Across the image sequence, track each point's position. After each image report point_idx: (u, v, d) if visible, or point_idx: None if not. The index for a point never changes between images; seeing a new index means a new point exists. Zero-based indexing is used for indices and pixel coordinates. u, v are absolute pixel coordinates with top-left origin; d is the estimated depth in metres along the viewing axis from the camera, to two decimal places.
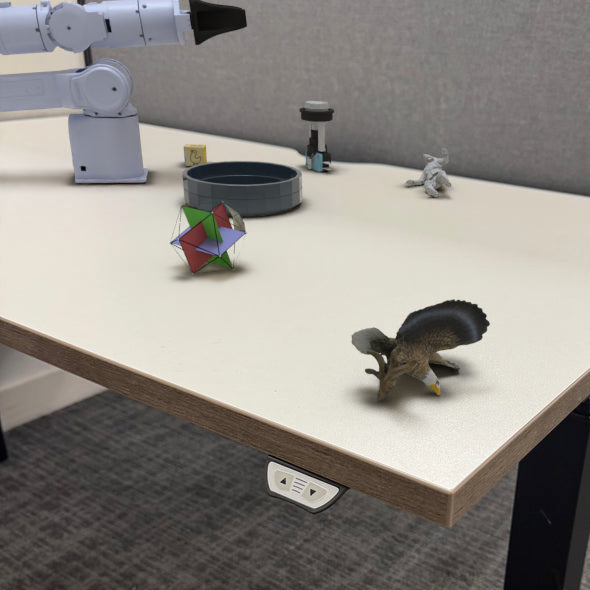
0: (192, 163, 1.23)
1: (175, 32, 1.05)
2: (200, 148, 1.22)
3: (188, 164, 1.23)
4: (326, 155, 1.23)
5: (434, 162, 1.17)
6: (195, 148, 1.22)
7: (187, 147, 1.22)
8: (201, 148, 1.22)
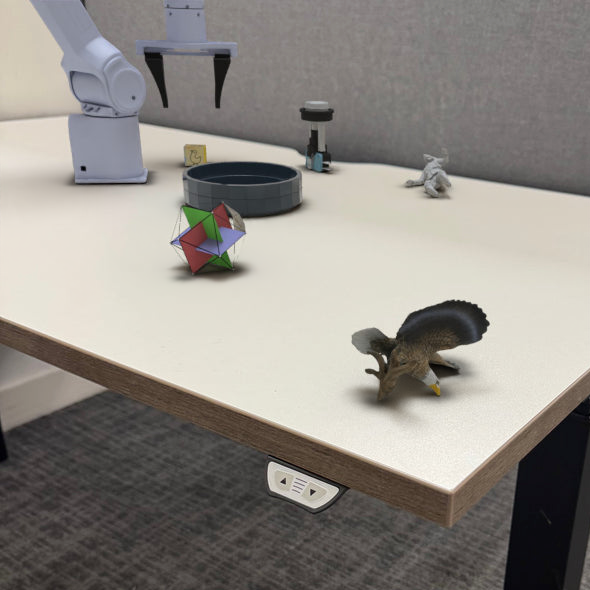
0: (192, 163, 1.23)
1: (204, 40, 1.16)
2: (200, 148, 1.22)
3: (188, 164, 1.23)
4: (326, 155, 1.23)
5: (434, 162, 1.17)
6: (195, 148, 1.22)
7: (187, 147, 1.22)
8: (201, 148, 1.22)
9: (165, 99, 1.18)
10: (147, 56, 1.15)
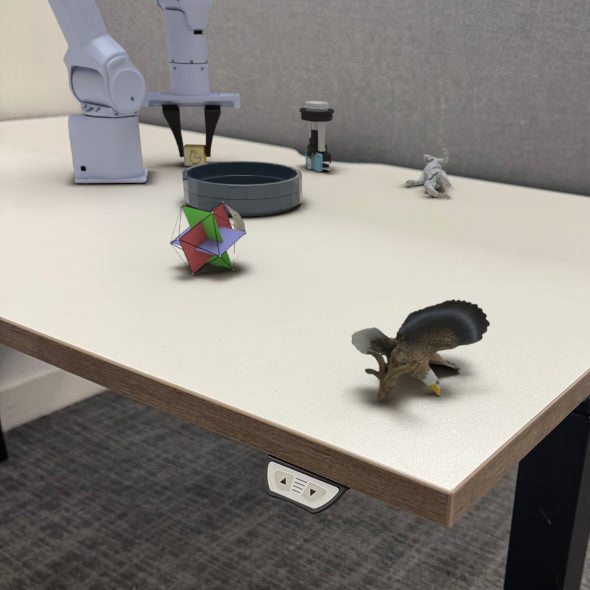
0: (192, 163, 1.23)
1: (207, 93, 1.19)
2: (200, 148, 1.22)
3: (188, 164, 1.23)
4: (326, 155, 1.23)
5: (434, 162, 1.17)
6: (195, 148, 1.22)
7: (187, 147, 1.22)
8: (201, 148, 1.22)
9: (182, 149, 1.22)
10: (165, 108, 1.19)
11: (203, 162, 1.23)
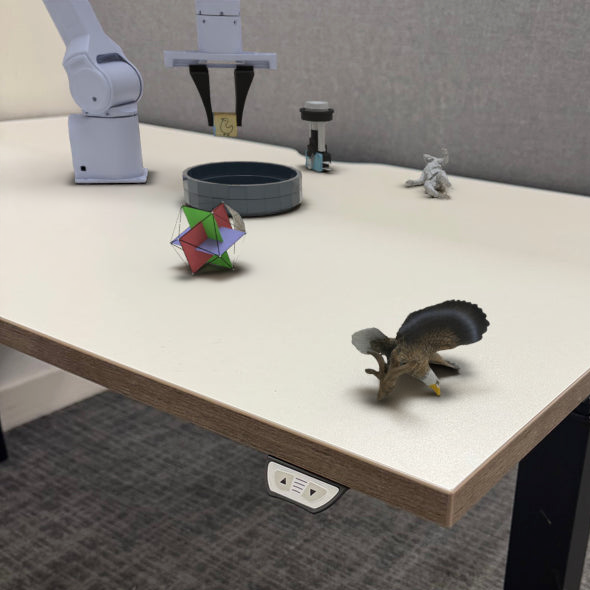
0: (222, 133, 1.07)
1: (240, 51, 1.03)
2: (232, 116, 1.07)
3: (218, 134, 1.07)
4: (326, 155, 1.23)
5: (434, 162, 1.17)
6: (226, 116, 1.06)
7: (217, 114, 1.06)
8: (233, 116, 1.07)
9: (211, 117, 1.06)
10: (192, 69, 1.03)
11: (235, 132, 1.08)
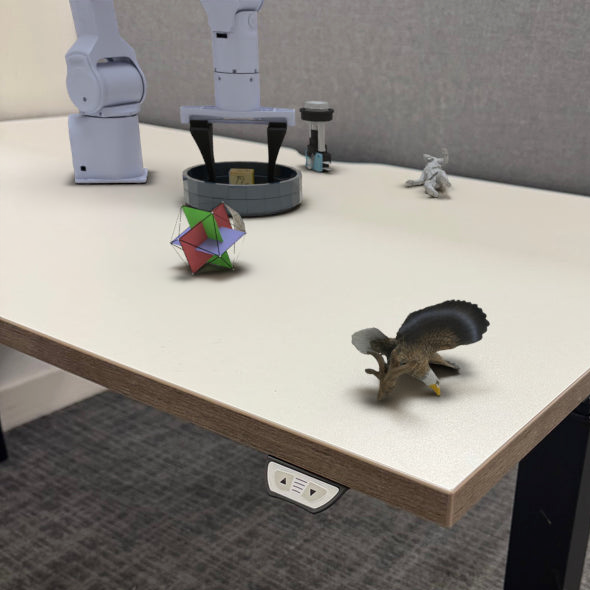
0: None
1: (257, 108, 1.01)
2: (248, 174, 1.04)
3: None
4: (326, 155, 1.23)
5: (434, 162, 1.17)
6: (242, 174, 1.04)
7: (233, 172, 1.04)
8: (249, 174, 1.04)
9: (211, 172, 1.04)
10: (193, 125, 1.01)
11: None
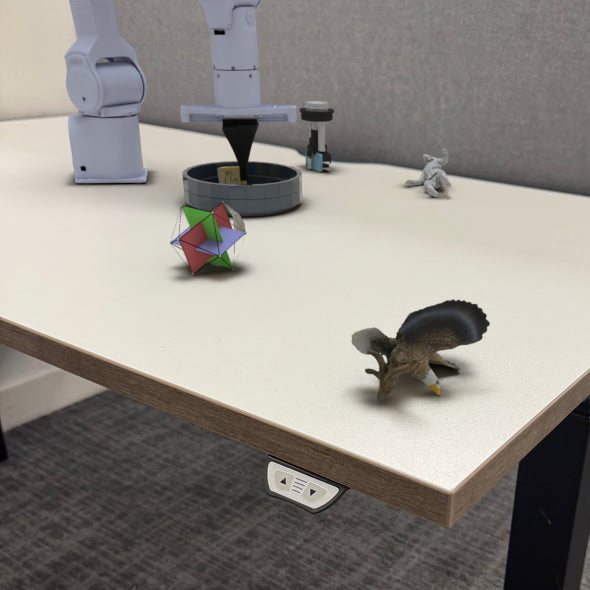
0: None
1: (257, 105, 1.00)
2: (235, 169, 1.05)
3: None
4: (326, 155, 1.23)
5: (434, 162, 1.17)
6: (230, 169, 1.05)
7: (221, 168, 1.05)
8: (237, 169, 1.05)
9: (244, 171, 1.03)
10: (225, 124, 1.01)
11: None
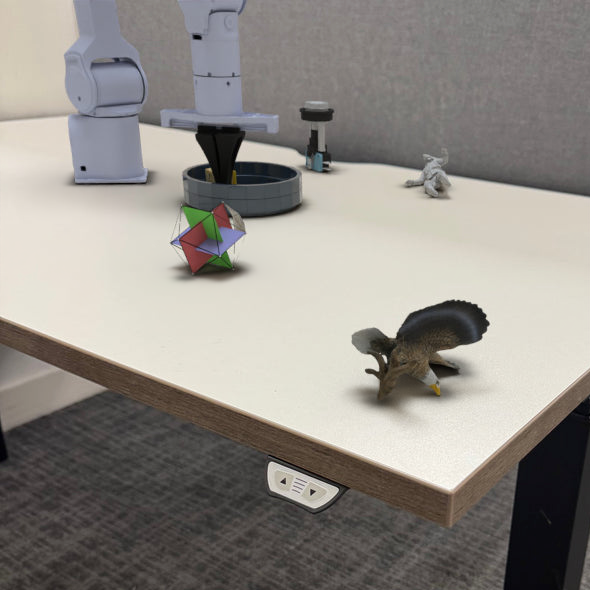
0: None
1: (236, 113, 0.96)
2: None
3: None
4: (326, 155, 1.23)
5: (434, 162, 1.17)
6: (211, 172, 1.04)
7: (207, 169, 1.05)
8: None
9: (218, 179, 1.00)
10: (200, 130, 0.98)
11: None
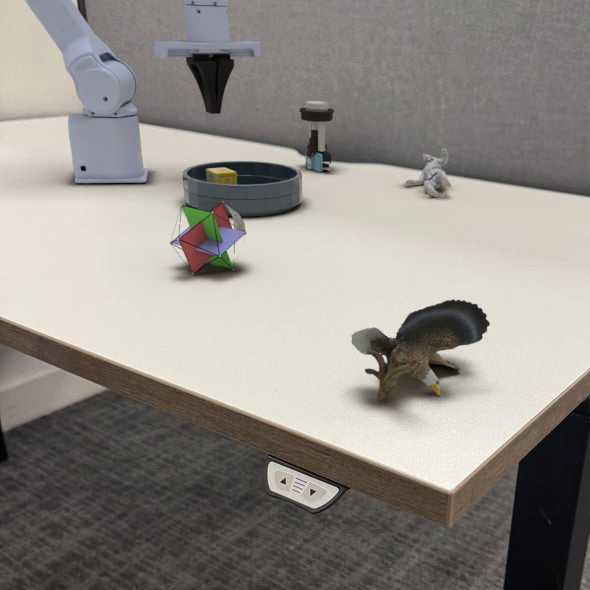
0: None
1: (229, 40, 1.07)
2: (215, 173, 1.04)
3: None
4: (326, 155, 1.23)
5: (434, 162, 1.17)
6: (212, 172, 1.04)
7: (208, 169, 1.05)
8: (215, 174, 1.04)
9: (214, 104, 1.10)
10: (197, 58, 1.06)
11: None
